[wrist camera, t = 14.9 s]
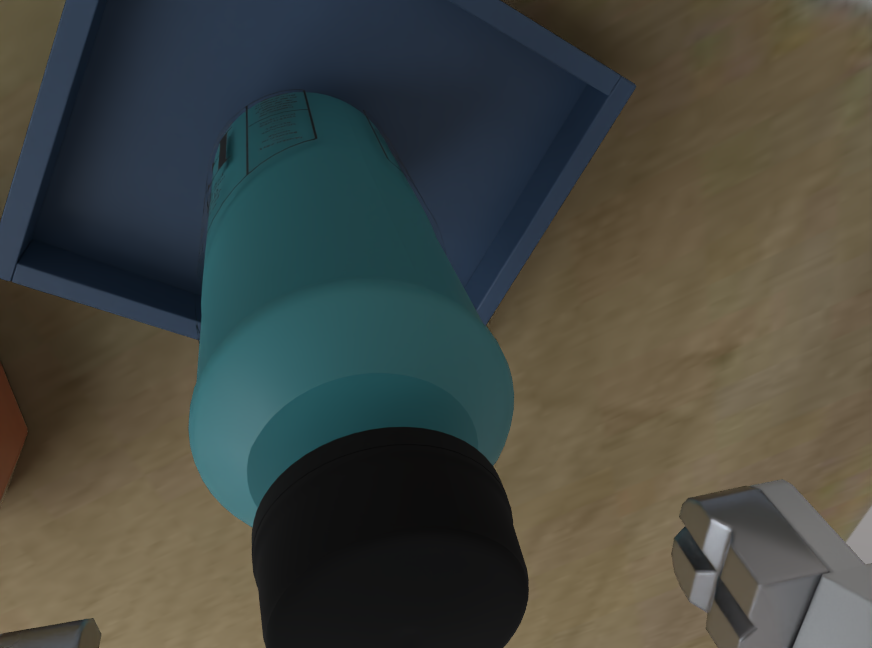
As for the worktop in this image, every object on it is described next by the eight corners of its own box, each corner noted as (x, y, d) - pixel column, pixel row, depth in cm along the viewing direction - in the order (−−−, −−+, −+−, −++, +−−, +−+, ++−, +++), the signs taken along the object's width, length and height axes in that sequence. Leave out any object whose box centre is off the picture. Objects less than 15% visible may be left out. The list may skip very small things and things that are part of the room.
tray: (6, 242, 26) (-16, 274, 24) (145, -217, 20) (132, -228, 18) (420, 378, 34) (431, 412, 31) (608, 70, 28) (637, 85, 26)
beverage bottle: (203, 69, 24) (100, 489, 7) (397, 76, 26) (673, 437, 9) (217, 246, 27) (170, 808, 11) (389, 243, 29) (579, 731, 12)
